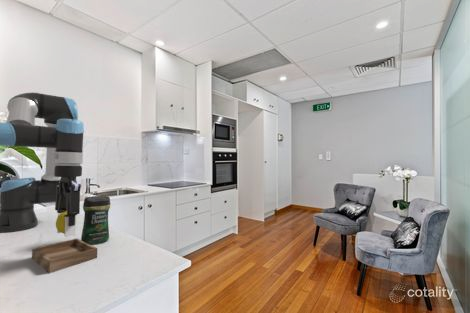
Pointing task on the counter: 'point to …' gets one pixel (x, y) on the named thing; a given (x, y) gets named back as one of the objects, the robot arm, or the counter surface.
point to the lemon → (61, 222)
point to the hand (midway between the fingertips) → (65, 233)
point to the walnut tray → (63, 254)
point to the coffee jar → (96, 220)
